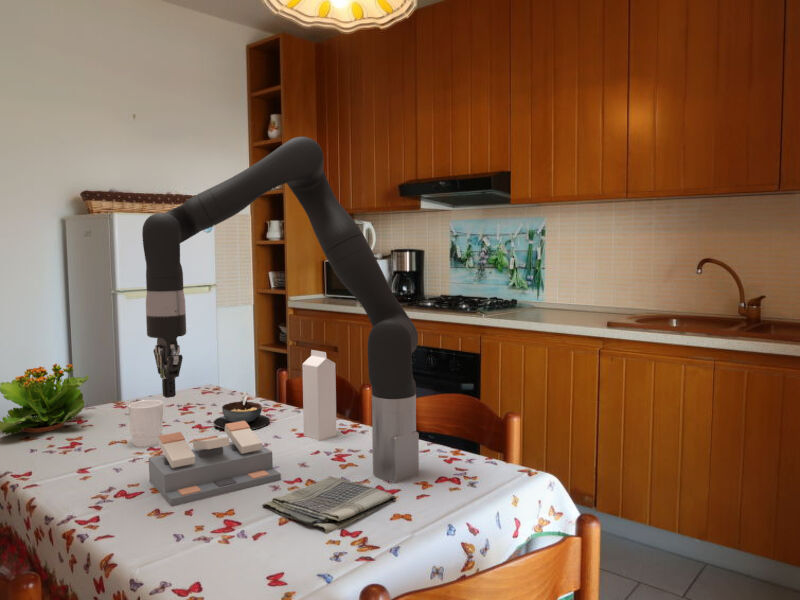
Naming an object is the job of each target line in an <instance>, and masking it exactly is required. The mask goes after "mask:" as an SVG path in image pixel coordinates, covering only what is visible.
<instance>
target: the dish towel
mask: <svg viewBox="0 0 800 600" xmlns="http://www.w3.org/2000/svg"><path fill="white" fill-rule="evenodd" d="M396 500H397V496H395V495H394V494H392V493H390V492H388V491H385V490H383V489H379V488H375V487H372V486H368V485H364V484H361V483H358V482H354V481H350V480H346V479H342V478H339V477H333V476H328V477H326V478H324V479H322V480H320V481H318V482H316V483H313V484H310V485H309V486H305V487H301V488H299V489H297V490H294V491H292V492H290V493H287V494H285V495H281V496H276V497H273V498H272V499H271V501H267V502H264V503H263V504H262V508H264V509H265V508H269V507H271V508H272V509H271V511H272V512H273V513H275V514H277V515H280V516H283V517H286V518H288V519H292V520H295V521H296V522H299V523H301V524H304V525H308V526H311V527H314V528H319V529H324V533H325V535H327V534H329V533H331V532H334V531H336V530H338V529H340V528H343V527H344V526H346V525H348V524H350V523H353V522H354V521H355V520H358V519H360V518H362V517H364V516H366V515H368V514H371V513H372V512H374V511H376V510H378V509H380V508H382V507H384V506H387V505H389V504H390V503H392V502H396Z"/></svg>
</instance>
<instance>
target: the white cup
mask: <svg viewBox="0 0 800 600" xmlns="http://www.w3.org/2000/svg"><path fill="white" fill-rule="evenodd" d="M128 414H129V415H128V416H129V425H130V433H131V440H132V441H131V442H132V445H133V446H134V447H137V448H138V447H139V448H144V447H145V448H146V447H152V446H153V447H154V446H156V445H159V444H158V436H160V435H163V427H164V426H163V424H164V423H163V422H164V401H162V400H159V399H146V400H145V399H144V400H138V401H135V402H131V403H130V404H128Z"/></svg>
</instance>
